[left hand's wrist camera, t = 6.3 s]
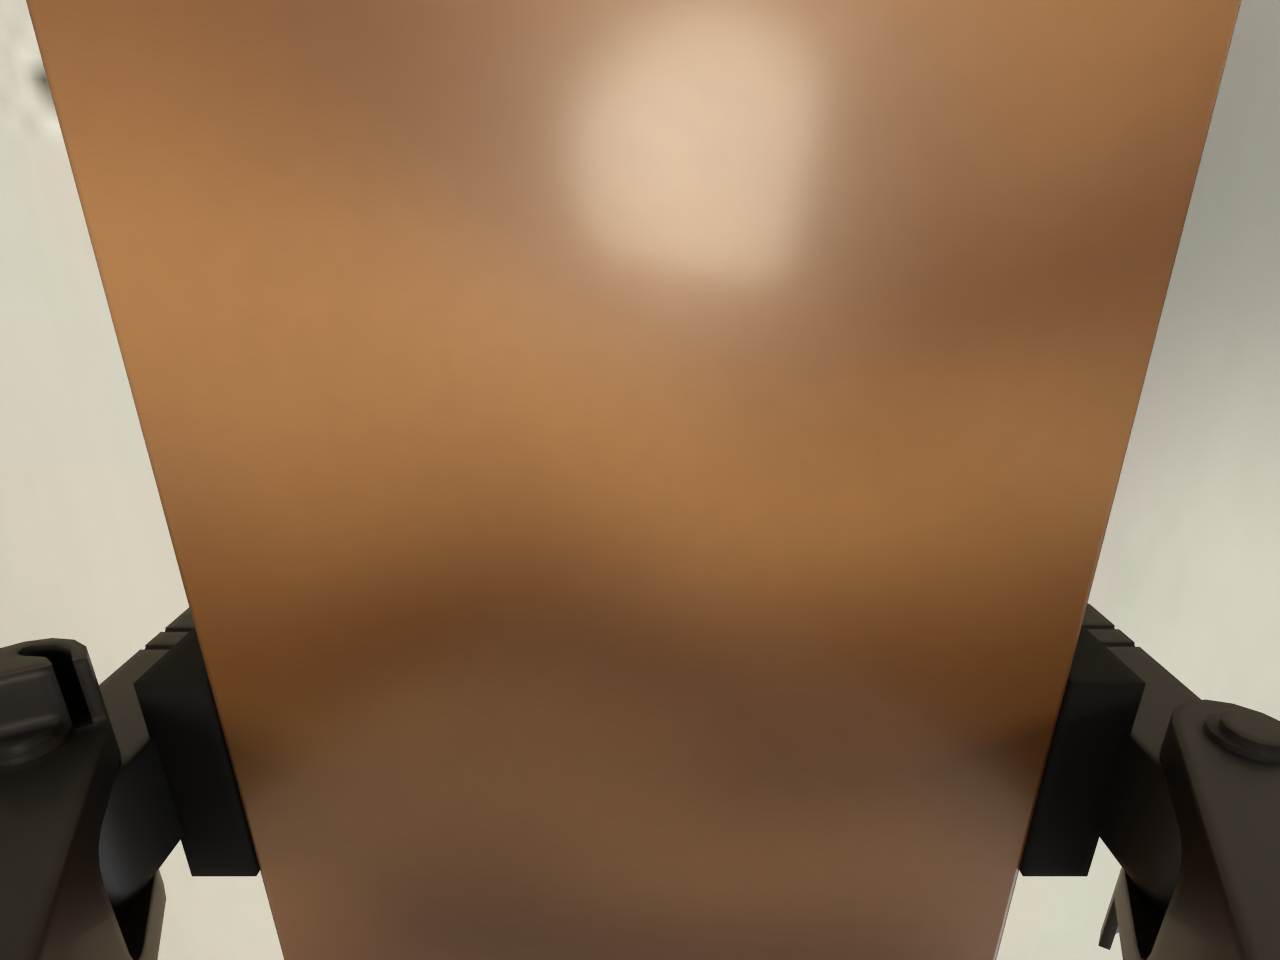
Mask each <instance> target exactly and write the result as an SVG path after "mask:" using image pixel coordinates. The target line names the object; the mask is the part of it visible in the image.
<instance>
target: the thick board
mask: <svg viewBox="0 0 1280 960" xmlns="http://www.w3.org/2000/svg"><path fill="white" fill-rule="evenodd" d="M26 1H27V5H28V9H29V13H30V16H31V20H32V24H33V27H34V31H35V35H36V39H37V42H38V46H39V50H40V53H41V57H42V61H43V65H44V68H45V72H46V76H47V79H48V83H49V87H50V91H51V94H52V98H53V102H54V105H55V109H56V113H57V117H58V120H59V124H60V128H61V131H62V135H63V139H64V143H65V146H66V150H67V154H68V157H69V161H70V165H71V169H72V172H73V176H74V180H75V183H76V187H77V191H78V195H79V198H80V202H81V206H82V209H83V213H84V217H85V221H86V224H87V228H88V232H89V235H90V239H91V243H92V247H93V250H94V254H95V258H96V261H97V265H98V269H99V273H100V276H101V280H102V284H103V287H104V291H105V295H106V299H107V302H108V306H109V310H110V313H111V317H112V321H113V325H114V328H115V332H116V336H117V339H118V343H119V347H120V351H121V354H122V358H123V362H124V365H125V369H126V373H127V377H128V380H129V384H130V388H131V391H132V395H133V399H134V403H135V406H136V410H137V414H138V418H139V421H140V425H141V429H142V432H143V436H144V440H145V444H146V447H147V451H148V455H149V458H150V462H151V466H152V470H153V473H154V477H155V481H156V484H157V488H158V492H159V496H160V499H161V503H162V507H163V510H164V514H165V518H166V522H167V525H168V529H169V533H170V536H171V540H172V544H173V548H174V551H175V555H176V559H177V562H178V566H179V570H180V574H181V577H182V581H183V585H184V588H185V592H186V596H187V600H188V603H189V607H190V611H191V614H192V618H193V622H194V626H195V629H196V633H197V637H198V640H199V644H200V648H201V652H202V655H203V659H204V663H205V666H206V670H207V674H208V678H209V681H210V685H211V689H212V692H213V696H214V700H215V704H216V707H217V711H218V715H219V718H220V722H221V726H222V730H223V733H224V737H225V741H226V744H227V748H228V752H229V756H230V759H231V763H232V767H233V770H234V774H235V778H236V782H237V785H238V789H239V793H240V796H241V800H242V804H243V808H244V811H245V815H246V819H247V822H248V826H249V830H250V834H251V837H252V841H253V845H254V848H255V852H256V856H257V860H258V863H259V867H260V871H261V874H262V878H263V882H264V886H265V889H266V893H267V897H268V900H269V904H270V908H271V912H272V915H273V919H274V923H275V926H276V930H277V934H278V938H279V941H280V945H281V949H282V952H283V956H284V960H996V958H997V954H998V950H999V946H1000V942H1001V939H1002V935H1003V931H1004V927H1005V923H1006V919H1007V915H1008V911H1009V907H1010V903H1011V899H1012V895H1013V892H1014V888H1015V884H1016V880H1017V876H1018V872H1019V868H1020V864H1021V860H1022V856H1023V852H1024V849H1025V845H1026V841H1027V837H1028V833H1029V829H1030V825H1031V821H1032V817H1033V813H1034V809H1035V806H1036V802H1037V798H1038V794H1039V790H1040V786H1041V782H1042V778H1043V774H1044V770H1045V766H1046V763H1047V759H1048V755H1049V751H1050V747H1051V743H1052V739H1053V735H1054V731H1055V727H1056V723H1057V719H1058V716H1059V712H1060V708H1061V704H1062V700H1063V696H1064V692H1065V688H1066V684H1067V680H1068V676H1069V673H1070V669H1071V665H1072V661H1073V657H1074V653H1075V649H1076V645H1077V641H1078V637H1079V633H1080V630H1081V626H1082V622H1083V618H1084V614H1085V610H1086V606H1087V602H1088V598H1089V594H1090V590H1091V587H1092V583H1093V579H1094V575H1095V571H1096V567H1097V563H1098V559H1099V555H1100V551H1101V547H1102V544H1103V540H1104V536H1105V532H1106V528H1107V524H1108V520H1109V516H1110V512H1111V508H1112V504H1113V500H1114V497H1115V493H1116V489H1117V485H1118V481H1119V477H1120V473H1121V469H1122V465H1123V461H1124V457H1125V454H1126V450H1127V446H1128V442H1129V438H1130V434H1131V430H1132V426H1133V422H1134V418H1135V414H1136V411H1137V407H1138V403H1139V399H1140V395H1141V391H1142V387H1143V383H1144V379H1145V375H1146V371H1147V368H1148V364H1149V360H1150V356H1151V352H1152V348H1153V344H1154V340H1155V336H1156V332H1157V328H1158V324H1159V321H1160V317H1161V313H1162V309H1163V305H1164V301H1165V297H1166V293H1167V289H1168V285H1169V281H1170V278H1171V274H1172V270H1173V266H1174V262H1175V258H1176V254H1177V250H1178V246H1179V242H1180V238H1181V235H1182V231H1183V227H1184V223H1185V219H1186V215H1187V211H1188V207H1189V203H1190V199H1191V195H1192V192H1193V188H1194V184H1195V180H1196V176H1197V172H1198V168H1199V164H1200V160H1201V156H1202V152H1203V148H1204V145H1205V141H1206V137H1207V133H1208V129H1209V125H1210V121H1211V117H1212V113H1213V109H1214V105H1215V102H1216V98H1217V94H1218V90H1219V86H1220V82H1221V78H1222V74H1223V70H1224V66H1225V62H1226V59H1227V55H1228V51H1229V47H1230V43H1231V39H1232V35H1233V31H1234V27H1235V23H1236V19H1237V16H1238V12H1239V8H1240V4H1241V0H26Z"/></svg>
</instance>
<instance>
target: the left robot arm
mask: <svg viewBox="0 0 1280 960" xmlns="http://www.w3.org/2000/svg"><path fill="white" fill-rule="evenodd" d="M1099 836H1100V838H1101V839H1102V840H1103V842H1104V843H1105V844H1106V846H1107V847H1108V848H1109V850H1110V851H1111V853H1112V854H1113V855H1114V857H1115V858H1116V859H1117V861H1118V862H1119V863H1120V865H1121V866H1122V868H1121V871H1120V874H1119V877H1118V880H1117V883H1116V887H1115V890H1114V893H1113V896H1112V899H1111V902H1110V905H1109V908H1108V911H1107V914H1106V917H1105V920H1104V923H1103V926H1102V929H1101V934H1100V940H1099V946H1101V947H1103V948H1106V949H1109V950H1110V948H1111V945H1112V942H1113V939H1114V936H1115V934H1116V933H1118V932H1119V935H1120V942H1121V949H1122V956H1123V960H1280V721H1278V720H1276V719H1274V718H1272V717H1270V716H1268V715H1266V714H1263V713H1261V712H1258V711H1254V710H1251V709H1248V708H1245V707H1242V706H1238V705H1235V704H1231V703H1225V702H1218V701H1211V700H1201V699H1200V698H1199V697H1197V696H1196V695H1195V694H1194V693H1193V692H1192V691H1190V690H1189V689H1188V688H1187V687H1186V686H1185V685H1183V684H1182V683H1181V682H1180V681H1179V680H1178V679H1176V678H1175V677H1174V676H1173V675H1172V674H1171V673H1169V672H1168V671H1167V670H1166V669H1165V668H1164V667H1162V666H1161V665H1160V664H1159V663H1158V662H1157V661H1155V660H1154V659H1153V658H1152V657H1151V656H1150V655H1148V654H1147V653H1146V652H1145V651H1144V650H1143V649H1141V648H1140V647H1135V645H1134V642H1133V641H1132V640H1131V639H1130V638H1129V637H1127V636H1126V635H1125V634H1124V633H1123V632H1122V631H1120V630H1119V629H1115V628H1114V625H1113V624H1112V623H1111V622H1110V621H1109V620H1108V619H1106V618H1105V617H1104V616H1103V615H1102V614H1101V613H1099V612H1098V611H1097V610H1096V609H1095V608H1094V607H1092V606H1091V605H1090V604H1088V603H1087V606H1086V610H1085V614H1084V618H1083V622H1082V626H1081V630H1080V633H1079V637H1078V641H1077V645H1076V649H1075V653H1074V657H1073V661H1072V665H1071V669H1070V673H1069V676H1068V680H1067V684H1066V688H1065V692H1064V696H1063V700H1062V704H1061V708H1060V712H1059V716H1058V719H1057V723H1056V727H1055V731H1054V735H1053V739H1052V743H1051V747H1050V751H1049V755H1048V759H1047V763H1046V766H1045V770H1044V774H1043V778H1042V782H1041V786H1040V790H1039V794H1038V798H1037V802H1036V806H1035V809H1034V813H1033V817H1032V821H1031V825H1030V829H1029V833H1028V837H1027V841H1026V845H1025V849H1024V852H1023V856H1022V860H1021V864H1020V868H1019V870H1020V872H1021V874H1022V875H1023V876H1087V875H1088V872H1089V869H1090V865H1091V862H1092V859H1093V856H1094V852H1095V849H1096V846H1097V842H1098V839H1099ZM180 839H181V842H182V845H183V848H184V851H185V855H186V858H187V861H188V864H189V868H190V871H191V874H192V876H257V874H258V872H259V871H260V867H259V863H258V860H257V856H256V852H255V848H254V845H253V841H252V837H251V834H250V830H249V826H248V822H247V819H246V815H245V811H244V808H243V804H242V800H241V796H240V793H239V789H238V785H237V782H236V778H235V774H234V770H233V767H232V763H231V759H230V756H229V752H228V748H227V744H226V741H225V737H224V733H223V730H222V726H221V722H220V718H219V715H218V711H217V707H216V704H215V700H214V696H213V692H212V689H211V685H210V681H209V678H208V674H207V670H206V666H205V663H204V659H203V655H202V652H201V648H200V644H199V640H198V637H197V633H196V629H195V626H194V622H193V618H192V614H191V611H190V607H189V608H188V609H187V610H186V611H185V612H183V613H182V614H181V615H180V616H179V617H178V618H176V619H175V620H174V621H173V622H172V623H171V624H170V625H168V626H167V627H166V630H165V632H160V633H159V634H158V635H157V636H156V637H154V638H153V639H152V640H151V641H150V642H149V643H148V644H146V648H145V650H139V651H138V652H137V653H136V654H135V655H134V656H132V657H131V658H130V659H129V660H128V661H127V662H126V663H124V664H123V665H122V666H121V667H120V668H119V669H117V670H116V671H115V672H114V673H113V674H112V675H110V676H109V677H108V678H107V679H106V680H105V681H104V682H102V683H101V684H100V685H98V682H97V679H96V676H95V672H94V669H93V666H92V663H91V660H90V657H89V654H88V651H87V648H86V646H84V645H83V644H81V643H79V642H77V641H75V640H71V639H57V638H50V639H42V640H34V641H27V642H22V643H18V644H15V645H11V646H7V647H3V648H0V960H157V958H158V951H159V944H160V937H161V930H162V923H163V916H164V909H165V902H166V896H165V889H164V883H163V880H162V877H161V874H160V871H159V868H160V866H161V865H162V864H163V862H164V861H165V860H166V858H167V857H168V855H169V854H170V853H171V851H172V850H173V849H174V847H175V846H176V845H177V843H178V842H179V841H180Z"/></svg>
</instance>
